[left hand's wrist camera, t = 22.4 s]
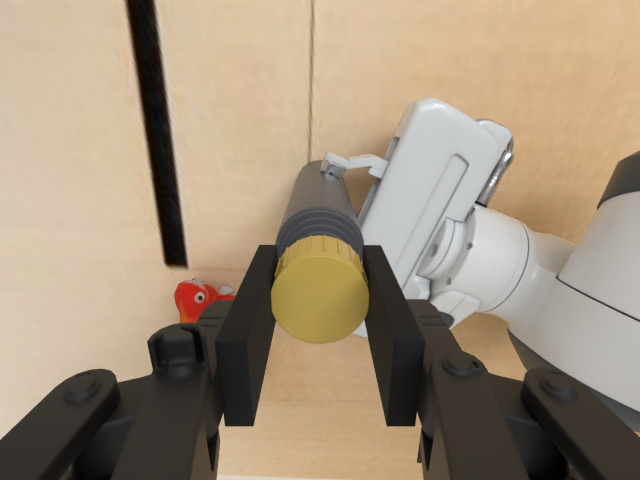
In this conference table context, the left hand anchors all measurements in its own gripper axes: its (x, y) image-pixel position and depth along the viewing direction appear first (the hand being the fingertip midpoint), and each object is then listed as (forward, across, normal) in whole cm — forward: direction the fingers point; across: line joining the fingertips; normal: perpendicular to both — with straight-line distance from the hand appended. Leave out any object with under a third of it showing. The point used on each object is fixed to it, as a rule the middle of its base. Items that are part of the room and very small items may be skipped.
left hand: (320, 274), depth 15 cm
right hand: (+14, -1, 0) cm, 14 cm away
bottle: (+21, 0, 0) cm, 21 cm away
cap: (-2, 0, 0) cm, 2 cm away
